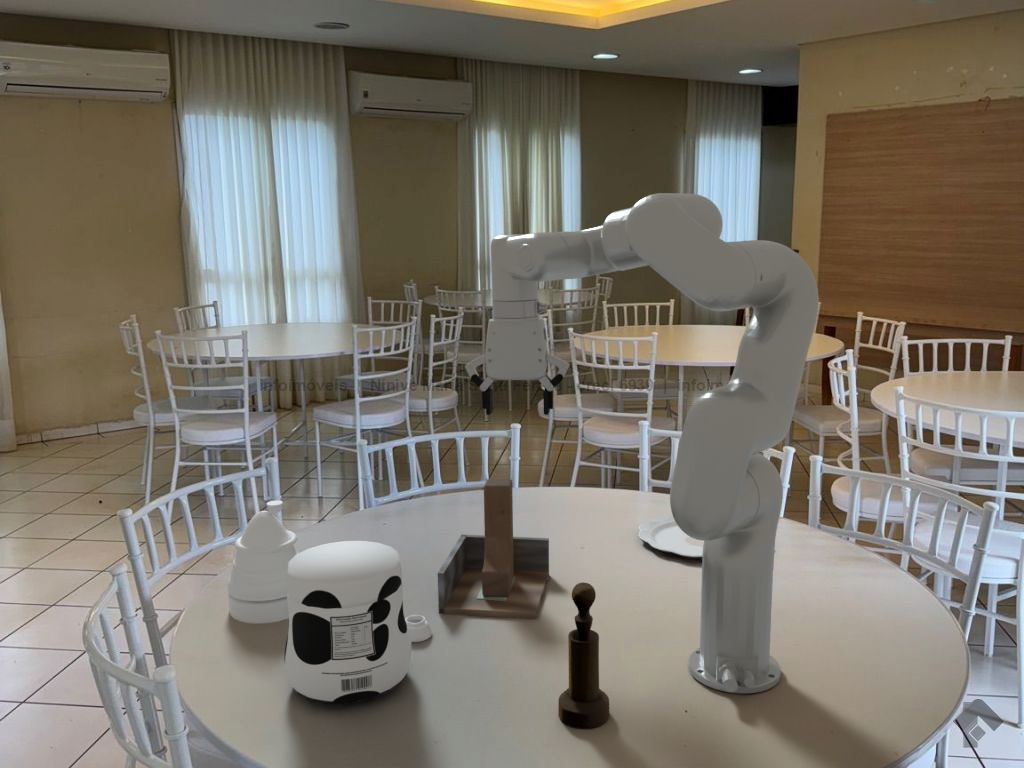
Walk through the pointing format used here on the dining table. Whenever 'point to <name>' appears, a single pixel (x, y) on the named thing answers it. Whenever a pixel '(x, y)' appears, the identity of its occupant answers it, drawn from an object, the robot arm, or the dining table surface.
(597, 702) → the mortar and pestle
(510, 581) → the wooden block
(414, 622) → the lidless jar
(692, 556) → the plate
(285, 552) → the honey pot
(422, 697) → the dining table surface
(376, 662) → the milk container
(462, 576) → the tray
